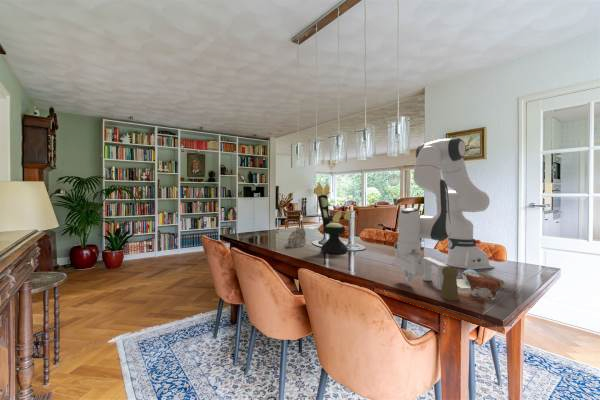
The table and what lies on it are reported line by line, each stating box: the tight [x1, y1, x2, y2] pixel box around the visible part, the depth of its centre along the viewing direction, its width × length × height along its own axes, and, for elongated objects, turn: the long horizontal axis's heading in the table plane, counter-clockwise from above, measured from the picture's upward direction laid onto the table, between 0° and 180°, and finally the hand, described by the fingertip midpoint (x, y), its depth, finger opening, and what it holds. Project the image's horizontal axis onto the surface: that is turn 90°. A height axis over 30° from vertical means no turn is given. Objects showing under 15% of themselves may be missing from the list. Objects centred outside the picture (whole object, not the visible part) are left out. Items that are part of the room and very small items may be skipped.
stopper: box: [476, 271, 505, 290], centre depth 129 cm, size 2×14×3 cm, turn 4°
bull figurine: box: [462, 271, 500, 301], centre depth 114 cm, size 4×13×8 cm, turn 32°
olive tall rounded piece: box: [440, 266, 460, 301], centre depth 112 cm, size 6×6×11 cm
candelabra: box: [314, 181, 353, 255], centre depth 194 cm, size 19×22×45 cm
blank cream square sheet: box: [456, 278, 471, 290], centre depth 128 cm, size 12×12×1 cm
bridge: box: [422, 256, 449, 291], centre depth 127 cm, size 3×15×10 cm, turn 3°
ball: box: [461, 269, 478, 283], centre depth 128 cm, size 6×6×6 cm
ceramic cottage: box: [286, 224, 307, 249], centre depth 218 cm, size 16×16×15 cm
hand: (408, 280), depth 127 cm, fingers closed
